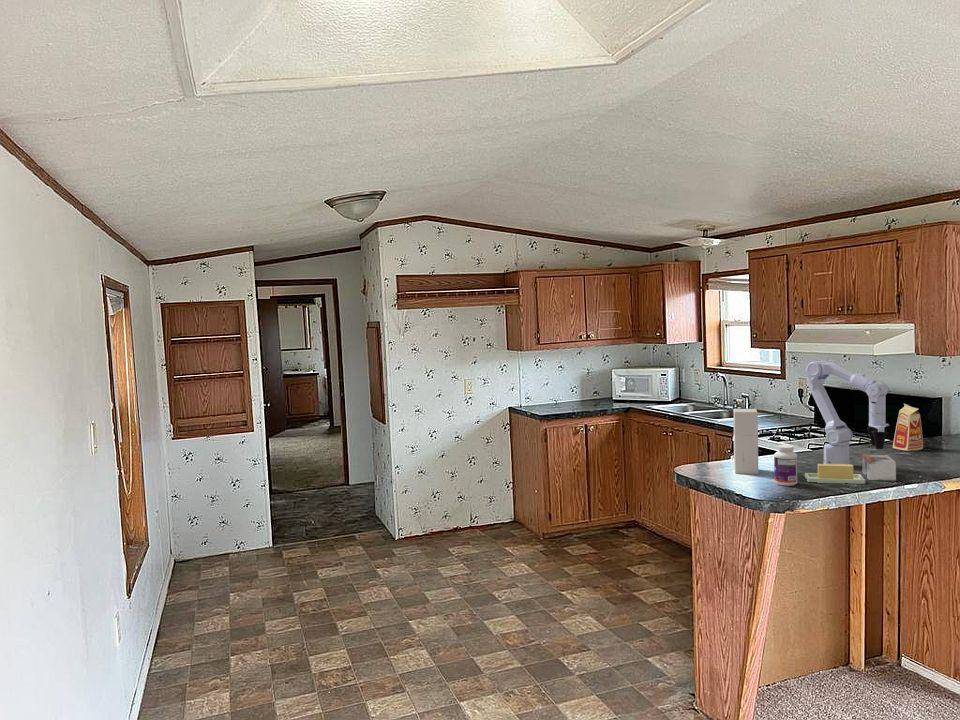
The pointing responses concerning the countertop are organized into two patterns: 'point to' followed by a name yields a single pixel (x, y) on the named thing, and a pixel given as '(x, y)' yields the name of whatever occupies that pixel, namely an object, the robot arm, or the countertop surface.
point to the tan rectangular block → (835, 471)
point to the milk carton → (908, 430)
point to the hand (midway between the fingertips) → (877, 447)
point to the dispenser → (878, 467)
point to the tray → (856, 479)
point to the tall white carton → (746, 441)
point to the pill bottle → (785, 466)
